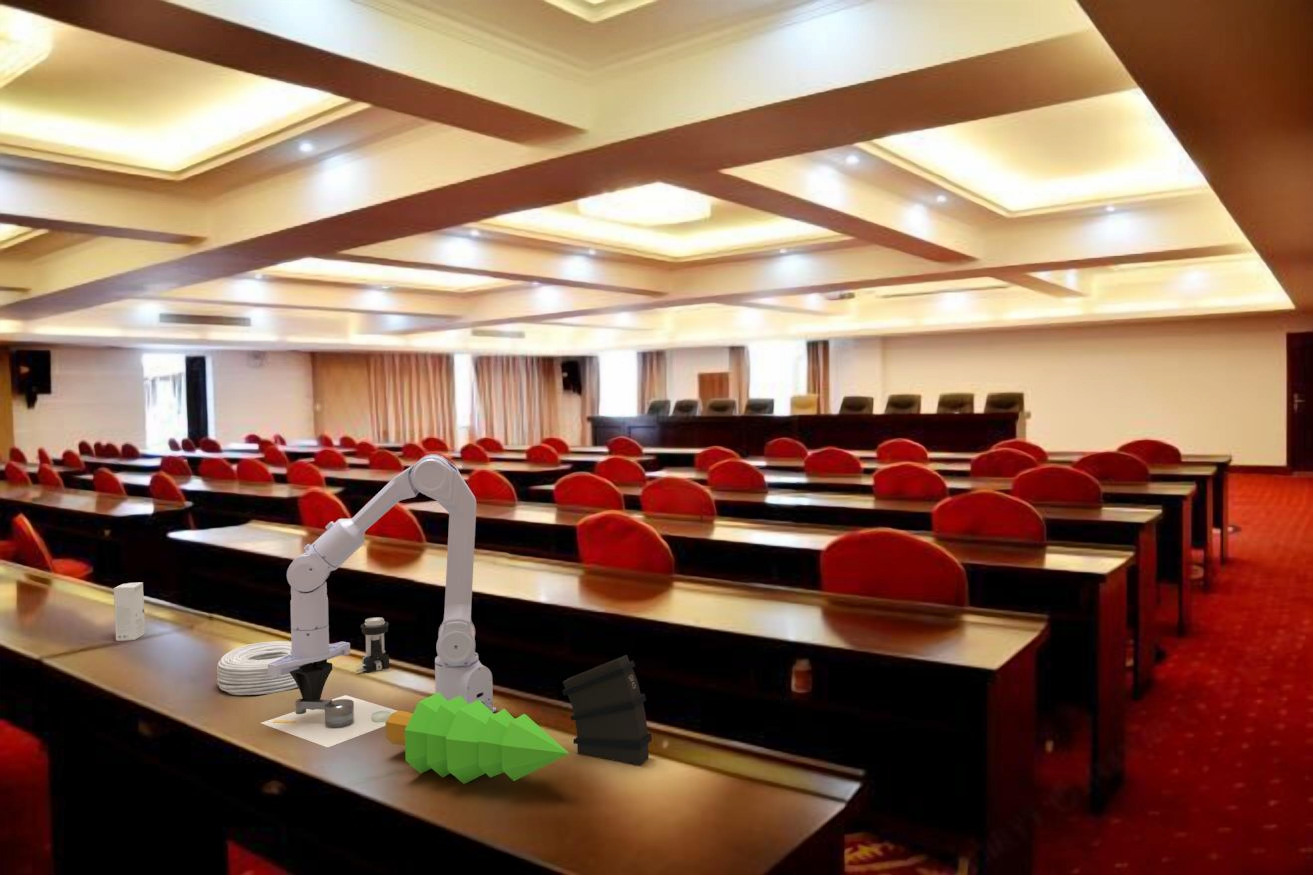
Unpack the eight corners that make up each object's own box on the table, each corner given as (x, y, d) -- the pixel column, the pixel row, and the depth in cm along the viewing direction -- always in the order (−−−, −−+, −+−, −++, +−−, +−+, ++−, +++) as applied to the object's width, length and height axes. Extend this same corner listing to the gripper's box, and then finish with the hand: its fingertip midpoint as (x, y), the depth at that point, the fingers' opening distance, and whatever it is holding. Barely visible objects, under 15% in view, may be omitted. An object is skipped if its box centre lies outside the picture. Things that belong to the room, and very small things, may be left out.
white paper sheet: (413, 721, 141) (412, 710, 141) (327, 753, 128) (327, 741, 128) (345, 700, 151) (345, 690, 151) (260, 728, 138) (260, 717, 138)
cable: (259, 666, 172) (258, 637, 172) (336, 671, 169) (336, 641, 169) (195, 694, 155) (194, 662, 155) (279, 701, 152) (279, 667, 151)
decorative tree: (407, 671, 128) (578, 692, 115) (430, 731, 132) (598, 757, 119) (356, 723, 119) (535, 752, 105) (382, 786, 123) (558, 821, 110)
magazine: (659, 759, 121) (618, 659, 123) (587, 783, 126) (549, 687, 129) (670, 750, 124) (630, 653, 127) (600, 773, 130) (563, 679, 132)
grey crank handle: (358, 717, 139) (358, 697, 139) (346, 727, 135) (346, 706, 135) (303, 715, 140) (302, 695, 140) (289, 725, 136) (288, 704, 136)
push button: (363, 676, 165) (362, 625, 164) (350, 671, 168) (349, 620, 168) (394, 668, 169) (393, 619, 169) (381, 663, 173) (380, 614, 173)
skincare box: (136, 640, 192) (134, 586, 191) (114, 641, 191) (112, 587, 190) (146, 633, 198) (144, 581, 197) (124, 634, 197) (123, 582, 196)
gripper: (329, 613, 148) (331, 691, 148) (254, 633, 135) (256, 717, 136) (358, 618, 144) (359, 697, 145) (283, 639, 132) (285, 725, 132)
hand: (311, 708), depth 140 cm, fingers closed
